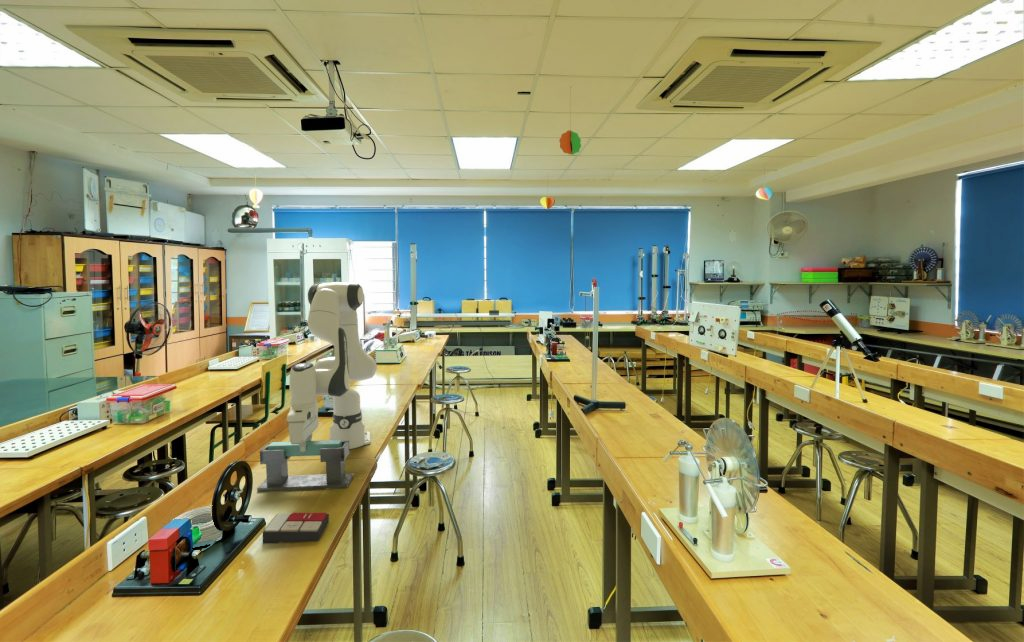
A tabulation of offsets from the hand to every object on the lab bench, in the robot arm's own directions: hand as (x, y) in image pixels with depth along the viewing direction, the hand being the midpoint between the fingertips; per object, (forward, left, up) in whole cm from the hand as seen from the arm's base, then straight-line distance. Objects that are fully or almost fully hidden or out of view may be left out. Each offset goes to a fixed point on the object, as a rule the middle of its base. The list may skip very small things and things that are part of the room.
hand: (305, 448), depth 174 cm
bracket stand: (0, 0, -13) cm, 13 cm away
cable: (+34, -19, -13) cm, 41 cm away
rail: (0, 0, -2) cm, 2 cm away
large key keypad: (+35, +8, -14) cm, 38 cm away
